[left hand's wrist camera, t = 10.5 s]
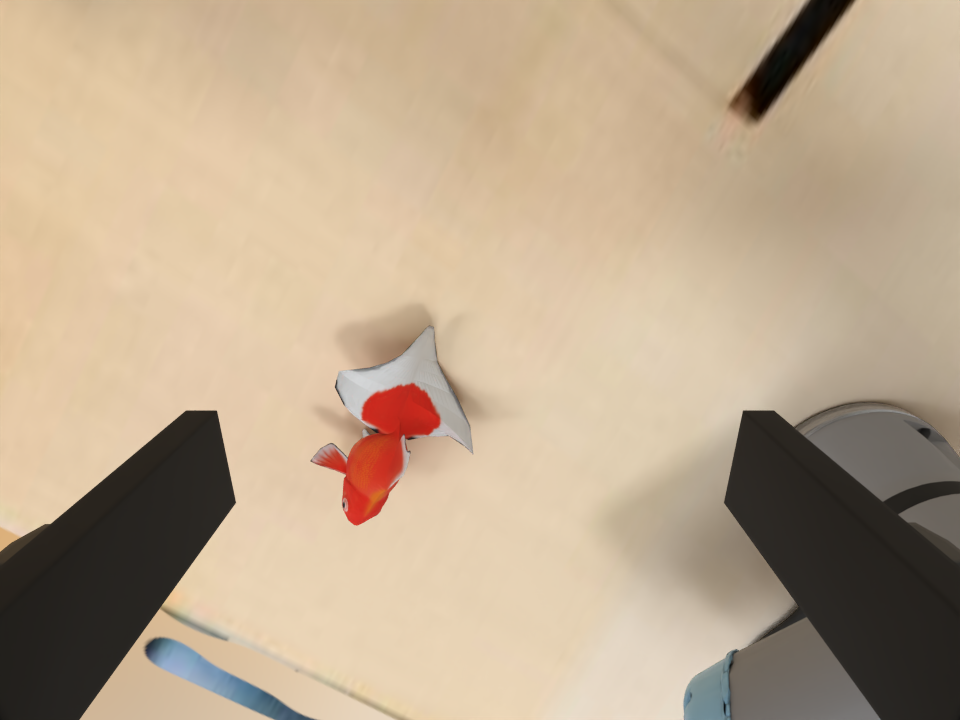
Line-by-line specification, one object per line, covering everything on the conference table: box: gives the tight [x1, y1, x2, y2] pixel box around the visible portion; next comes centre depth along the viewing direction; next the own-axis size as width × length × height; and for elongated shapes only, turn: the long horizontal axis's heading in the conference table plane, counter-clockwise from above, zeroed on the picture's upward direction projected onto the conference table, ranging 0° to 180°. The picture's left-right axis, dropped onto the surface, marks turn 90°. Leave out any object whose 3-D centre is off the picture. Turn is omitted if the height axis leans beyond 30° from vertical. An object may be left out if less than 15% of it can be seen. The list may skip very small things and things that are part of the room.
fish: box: [311, 326, 473, 526], centre depth 38 cm, size 11×16×10 cm
